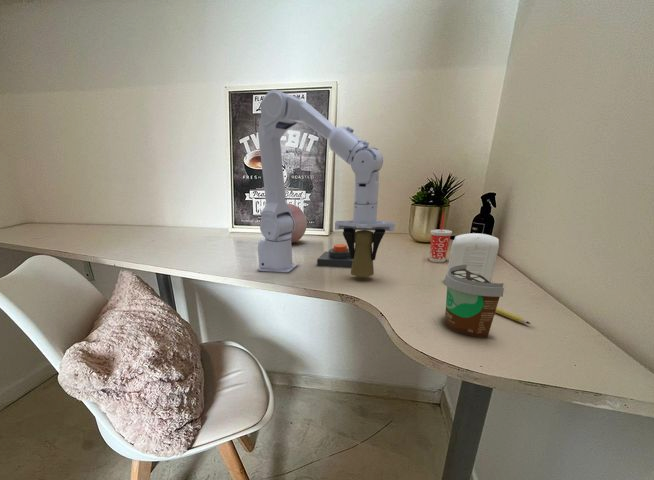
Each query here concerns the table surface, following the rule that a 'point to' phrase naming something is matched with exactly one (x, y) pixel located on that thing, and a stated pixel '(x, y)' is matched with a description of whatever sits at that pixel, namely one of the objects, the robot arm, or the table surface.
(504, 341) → the table surface
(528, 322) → the pencil
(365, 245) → the cork
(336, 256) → the dark grey button base
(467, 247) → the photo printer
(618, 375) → the table surface
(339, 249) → the timer button
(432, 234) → the beverage cup
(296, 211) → the pink ball
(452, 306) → the food container
